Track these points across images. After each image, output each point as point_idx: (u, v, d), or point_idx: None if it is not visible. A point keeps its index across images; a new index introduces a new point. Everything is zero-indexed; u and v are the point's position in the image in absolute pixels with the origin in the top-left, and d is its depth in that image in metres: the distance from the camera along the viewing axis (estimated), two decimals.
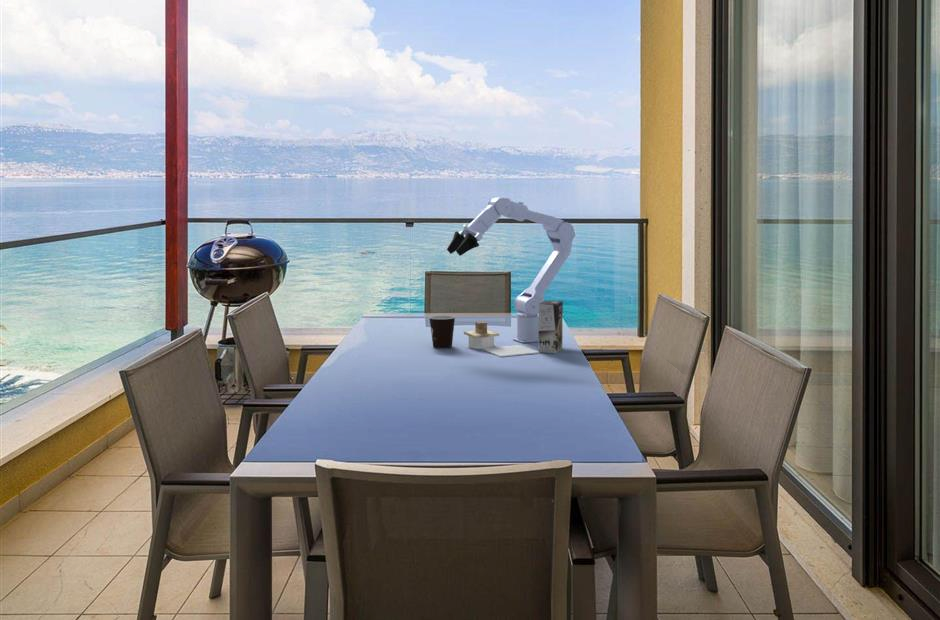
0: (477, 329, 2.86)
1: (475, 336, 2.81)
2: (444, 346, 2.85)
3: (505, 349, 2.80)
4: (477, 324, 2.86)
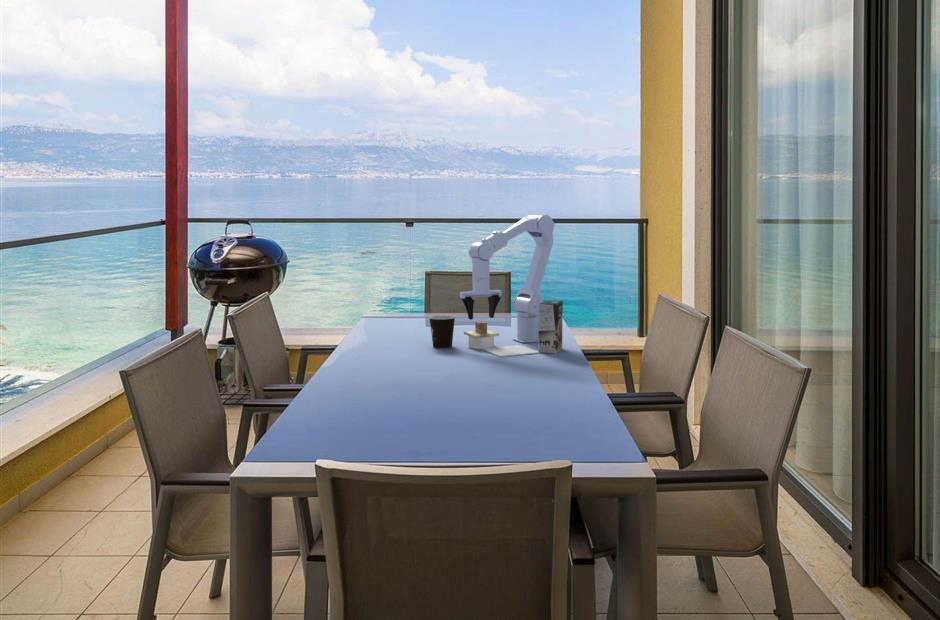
0: (477, 329, 2.86)
1: (475, 336, 2.81)
2: (444, 346, 2.85)
3: (505, 349, 2.80)
4: (477, 324, 2.86)
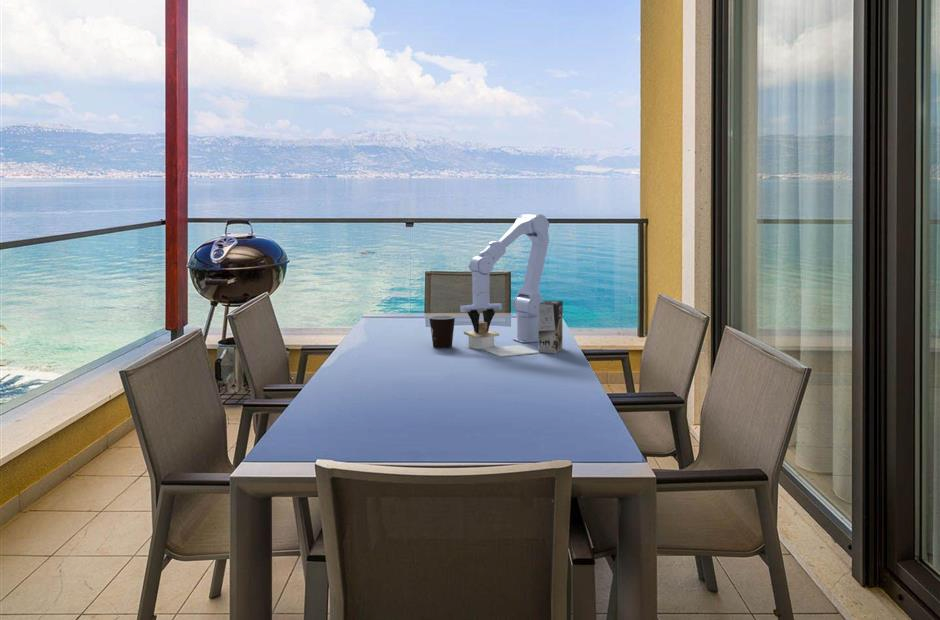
0: None
1: (475, 336, 2.81)
2: (444, 346, 2.85)
3: (505, 349, 2.80)
4: None
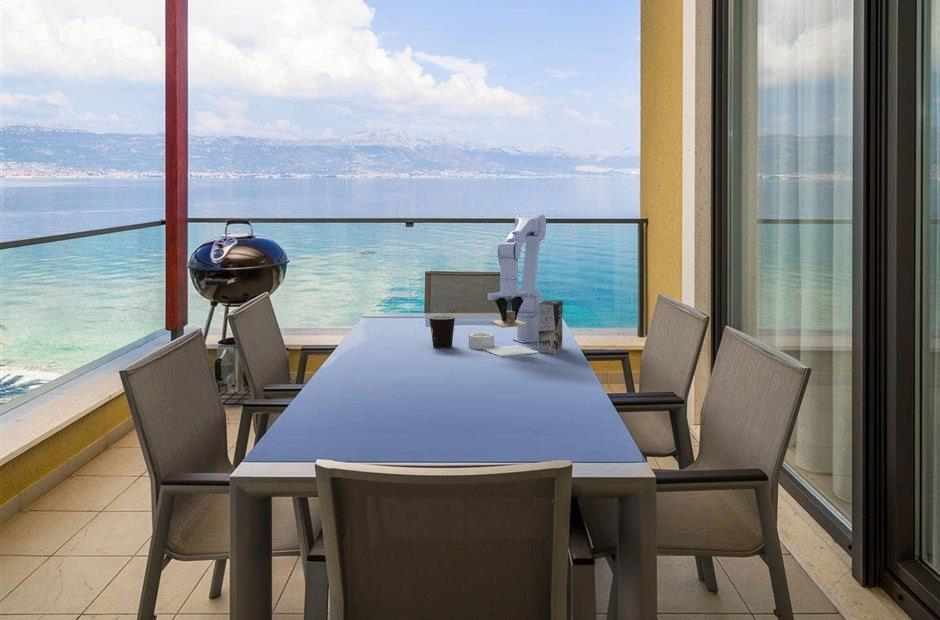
0: None
1: (503, 326, 2.72)
2: (444, 346, 2.85)
3: (505, 349, 2.80)
4: None
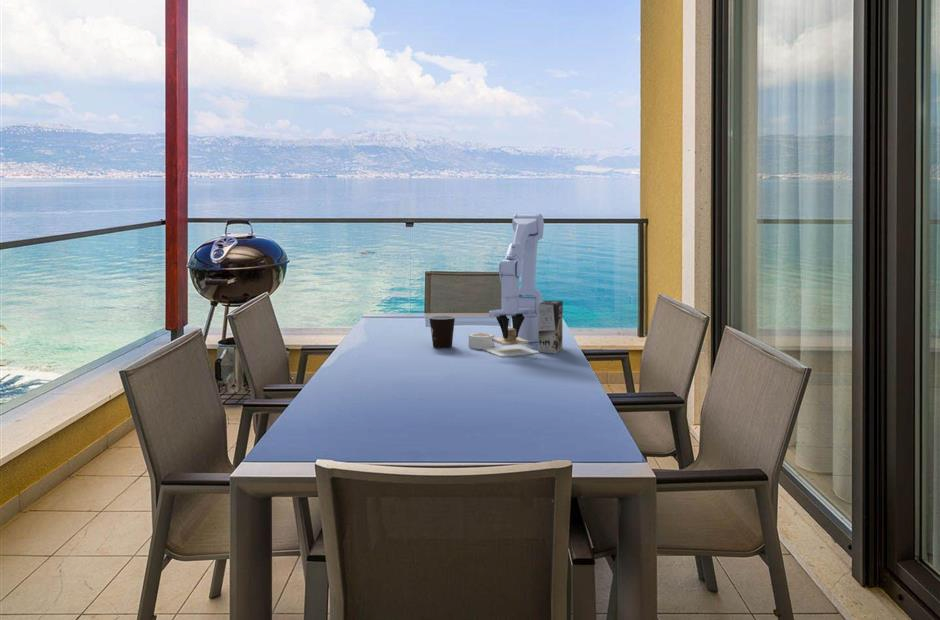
0: None
1: (504, 343, 2.73)
2: (444, 346, 2.85)
3: (505, 349, 2.80)
4: None
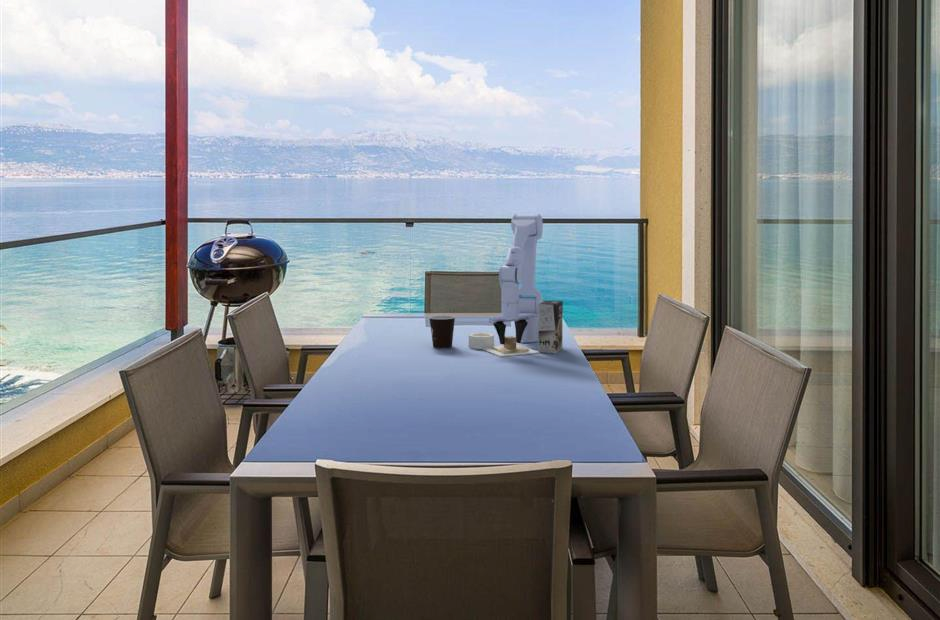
0: (505, 344, 2.78)
1: (504, 352, 2.73)
2: (444, 346, 2.85)
3: None
4: (506, 339, 2.78)
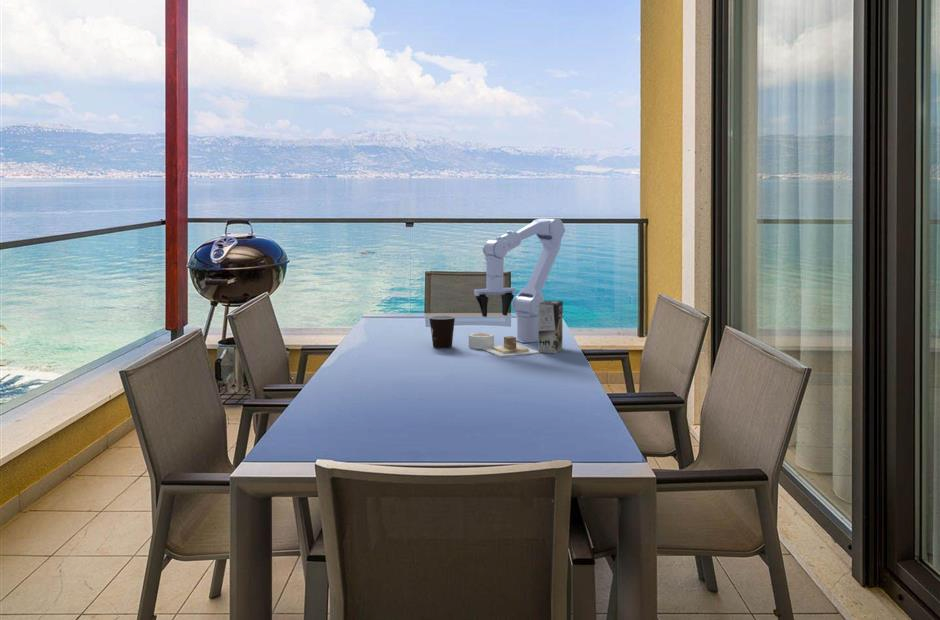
0: (505, 344, 2.78)
1: (504, 352, 2.73)
2: (444, 346, 2.85)
3: None
4: (506, 339, 2.78)
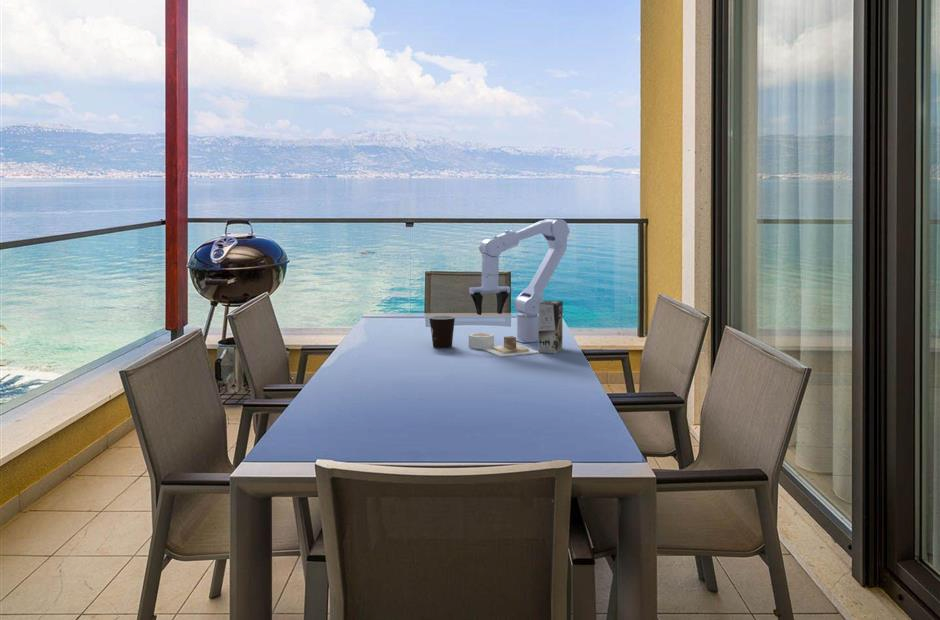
0: (505, 344, 2.78)
1: (504, 352, 2.73)
2: (444, 346, 2.85)
3: None
4: (506, 339, 2.78)
